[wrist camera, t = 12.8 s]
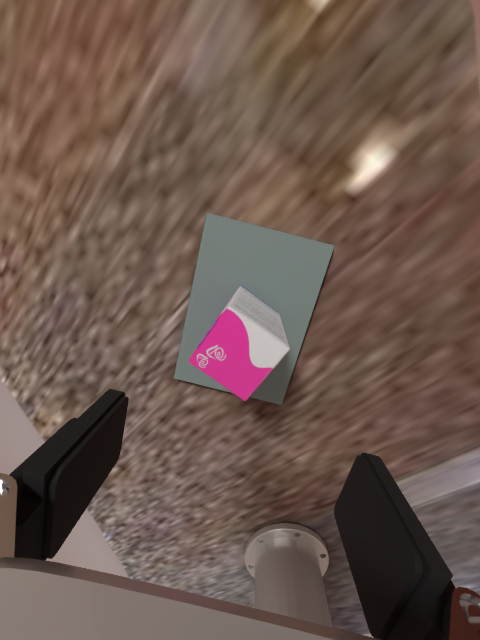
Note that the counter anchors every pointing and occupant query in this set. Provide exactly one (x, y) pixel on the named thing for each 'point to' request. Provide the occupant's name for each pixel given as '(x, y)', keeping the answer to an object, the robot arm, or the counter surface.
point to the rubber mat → (253, 290)
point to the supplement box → (242, 344)
